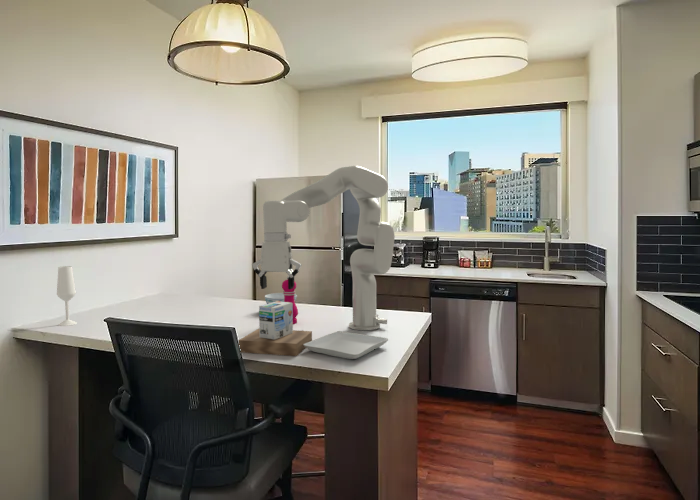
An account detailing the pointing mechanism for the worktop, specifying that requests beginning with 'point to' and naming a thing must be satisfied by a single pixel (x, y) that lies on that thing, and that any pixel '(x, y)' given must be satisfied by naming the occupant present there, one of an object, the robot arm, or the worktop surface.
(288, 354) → the riser block
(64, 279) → the champagne flute
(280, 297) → the chinaware
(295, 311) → the pepper mill
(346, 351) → the salad plate
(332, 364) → the worktop surface
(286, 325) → the light bulb box
